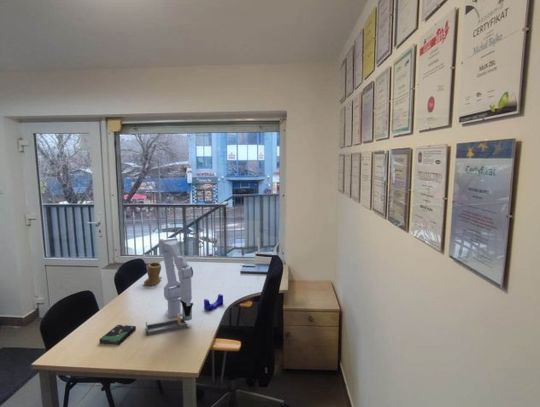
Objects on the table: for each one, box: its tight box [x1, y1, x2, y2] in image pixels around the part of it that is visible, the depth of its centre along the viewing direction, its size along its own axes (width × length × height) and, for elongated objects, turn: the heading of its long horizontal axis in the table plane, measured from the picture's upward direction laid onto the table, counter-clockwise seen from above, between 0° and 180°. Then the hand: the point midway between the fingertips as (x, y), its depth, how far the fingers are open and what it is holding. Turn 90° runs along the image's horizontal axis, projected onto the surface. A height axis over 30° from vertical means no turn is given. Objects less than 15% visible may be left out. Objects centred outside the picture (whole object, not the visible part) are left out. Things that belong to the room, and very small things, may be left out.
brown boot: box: [143, 261, 163, 286], centre depth 234 cm, size 15×12×15 cm
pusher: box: [176, 313, 182, 325], centre depth 168 cm, size 6×1×5 cm, turn 24°
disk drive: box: [99, 324, 137, 346], centre depth 157 cm, size 10×3×15 cm
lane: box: [144, 318, 189, 337], centre depth 166 cm, size 8×21×3 cm, turn 114°
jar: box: [181, 305, 193, 322], centre depth 169 cm, size 5×5×7 cm
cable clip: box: [203, 293, 224, 312], centre depth 192 cm, size 12×4×6 cm, turn 136°
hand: (186, 313), depth 169 cm, fingers closed on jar, 5 cm apart
